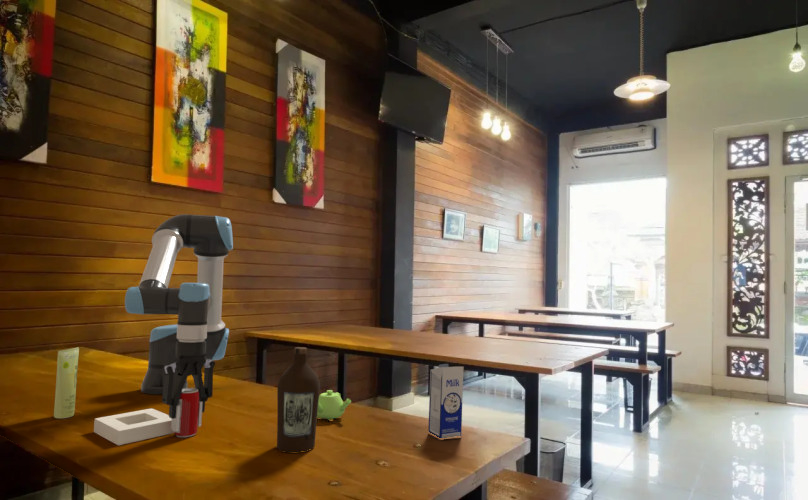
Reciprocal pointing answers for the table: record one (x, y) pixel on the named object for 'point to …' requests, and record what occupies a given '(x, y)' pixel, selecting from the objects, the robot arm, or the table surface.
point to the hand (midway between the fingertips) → (186, 427)
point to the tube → (66, 383)
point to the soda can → (188, 412)
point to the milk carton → (446, 401)
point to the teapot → (331, 405)
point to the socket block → (133, 426)
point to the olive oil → (297, 405)
